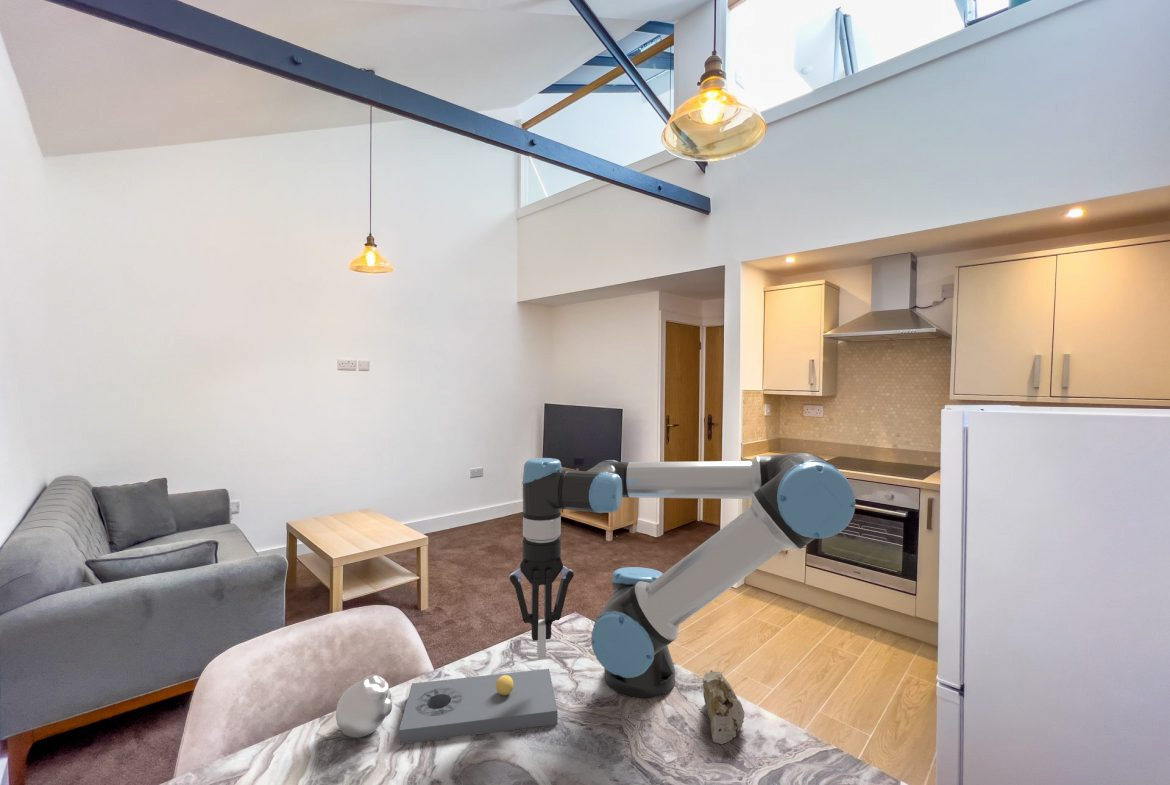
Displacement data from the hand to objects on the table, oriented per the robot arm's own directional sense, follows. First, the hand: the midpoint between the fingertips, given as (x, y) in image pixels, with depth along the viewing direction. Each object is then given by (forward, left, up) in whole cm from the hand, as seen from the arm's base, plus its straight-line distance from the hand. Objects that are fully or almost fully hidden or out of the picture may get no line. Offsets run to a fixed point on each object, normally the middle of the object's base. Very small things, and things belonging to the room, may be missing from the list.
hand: (541, 654), depth 99 cm
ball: (+7, +1, -5) cm, 9 cm away
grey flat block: (+11, +2, -9) cm, 15 cm away
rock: (-34, +6, -10) cm, 36 cm away
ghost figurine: (+31, +8, -10) cm, 34 cm away
